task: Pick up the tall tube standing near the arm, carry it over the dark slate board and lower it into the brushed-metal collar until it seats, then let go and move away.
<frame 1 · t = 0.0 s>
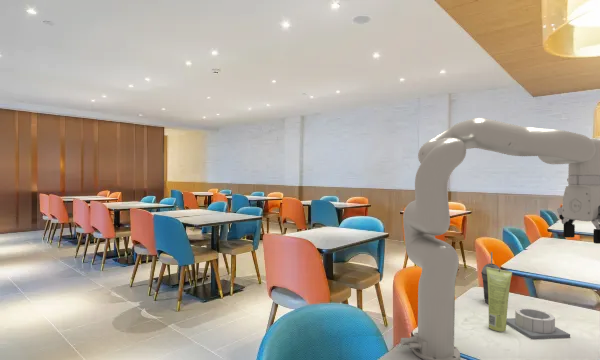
hand: (583, 240, 101), 31 cm above the table, tool pointing down, fingers open, 9 cm apart
tube: (497, 329, 113), on the table
socket board: (534, 329, 113), on the table
beverage cup: (491, 303, 136), on the table
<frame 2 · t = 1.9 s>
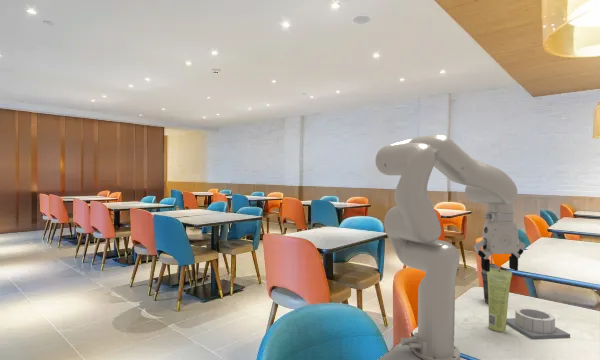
hand: (499, 270, 113), 19 cm above the table, tool pointing down, fingers open, 9 cm apart
nothing on the table moved.
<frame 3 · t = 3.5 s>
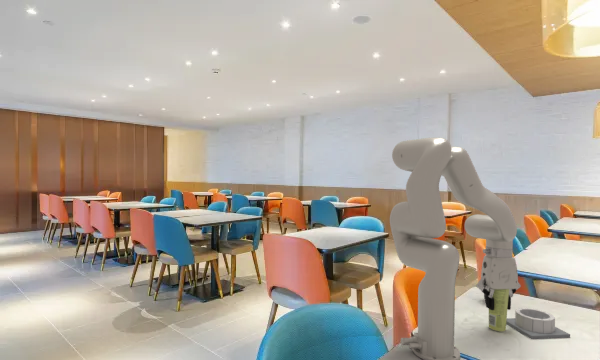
hand: (498, 307, 112), 7 cm above the table, tool pointing down, fingers closed on tube, 4 cm apart
tube: (497, 329, 113), on the table, touching gripper
everything else where it was.
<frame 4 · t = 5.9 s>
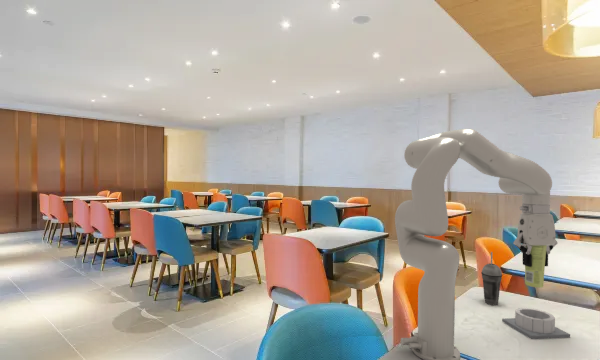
hand: (535, 264, 113), 21 cm above the table, tool pointing down, fingers closed on tube, 4 cm apart
tube: (534, 286, 113), point 14 cm above the table, touching gripper
everything else where it was.
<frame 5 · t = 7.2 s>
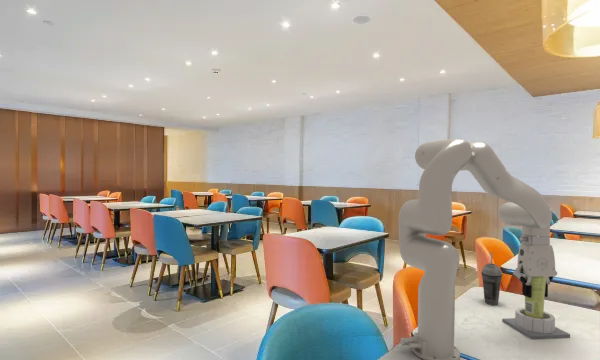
hand: (534, 295, 113), 11 cm above the table, tool pointing down, fingers closed on tube, 4 cm apart
tube: (534, 317, 113), point 4 cm above the table, touching gripper
everything else where it was.
when the fingers open (8 cm above the table, at t = 8.1 s): tube stays where it is, resting on socket board.
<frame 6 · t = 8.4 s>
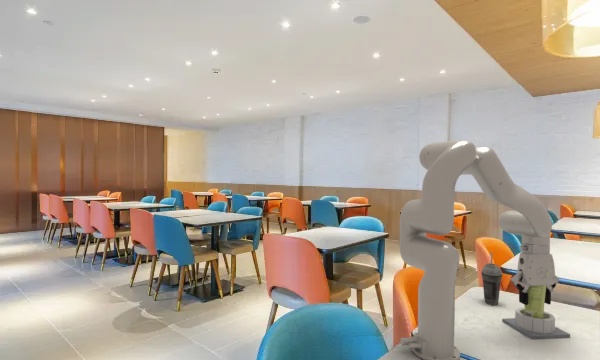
hand: (534, 302, 113), 9 cm above the table, tool pointing down, fingers open, 7 cm apart
tube: (534, 326, 113), point 1 cm above the table, touching socket board
everything else where it was.
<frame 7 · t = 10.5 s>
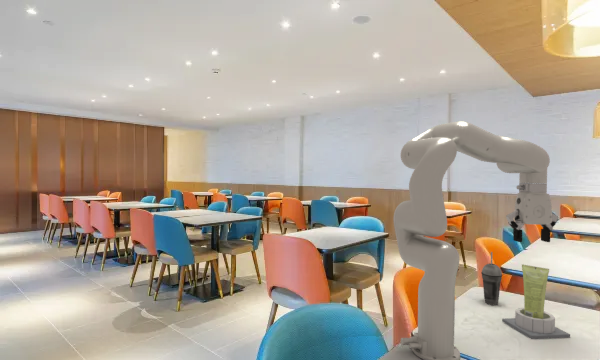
hand: (531, 241, 113), 29 cm above the table, tool pointing down, fingers open, 9 cm apart
nothing on the table moved.
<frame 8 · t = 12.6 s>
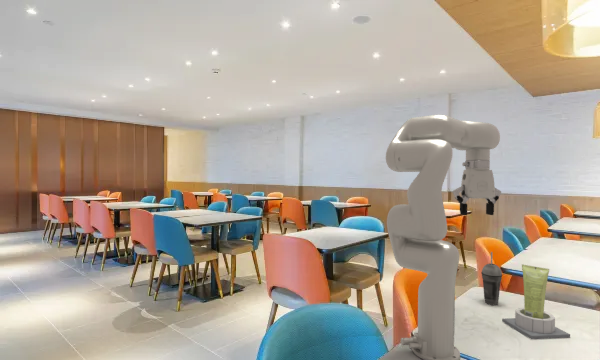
hand: (476, 214, 121), 36 cm above the table, tool pointing down, fingers open, 9 cm apart
nothing on the table moved.
at the end: tube 0.1 cm from the socket board (horizontally); tube point 0.8 cm above the table; tube tilted 0° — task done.
